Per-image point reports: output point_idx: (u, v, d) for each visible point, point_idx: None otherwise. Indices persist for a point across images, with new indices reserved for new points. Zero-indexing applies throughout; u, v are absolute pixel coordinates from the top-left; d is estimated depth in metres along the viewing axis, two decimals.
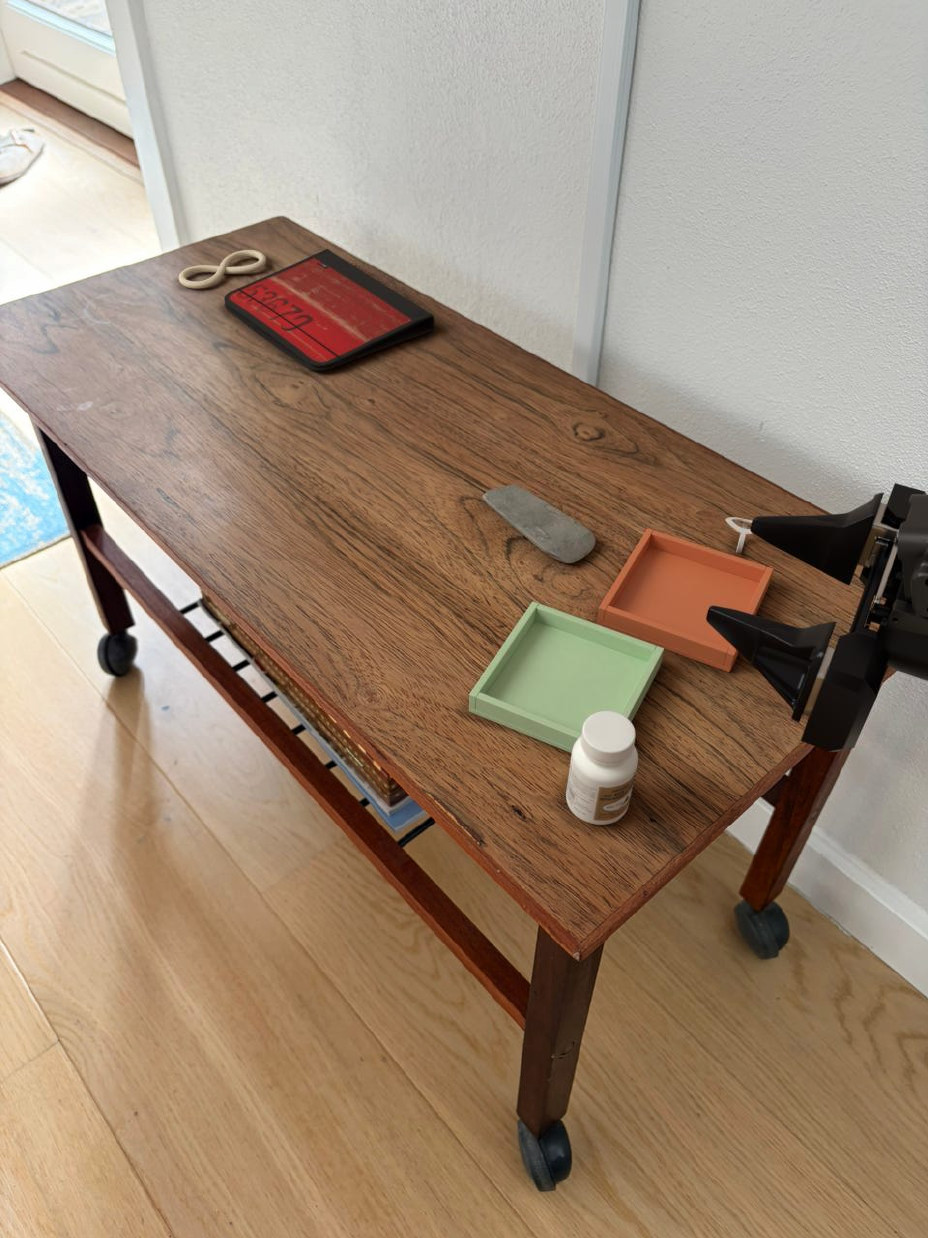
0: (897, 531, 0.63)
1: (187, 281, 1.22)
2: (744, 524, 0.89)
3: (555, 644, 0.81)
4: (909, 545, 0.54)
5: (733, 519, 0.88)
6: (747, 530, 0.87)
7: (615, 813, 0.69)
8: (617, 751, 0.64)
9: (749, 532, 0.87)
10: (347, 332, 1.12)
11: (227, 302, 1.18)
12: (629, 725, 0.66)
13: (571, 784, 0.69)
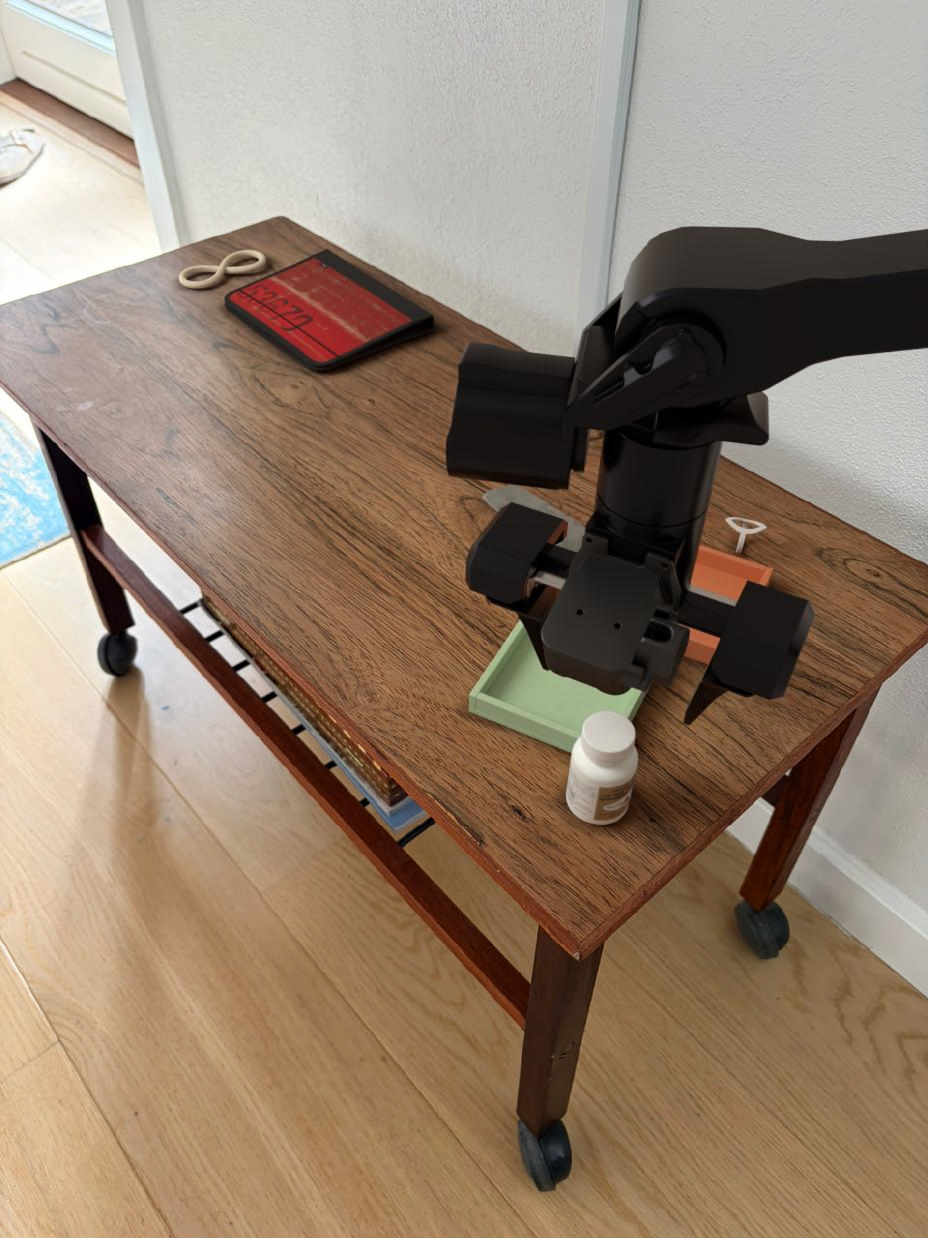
0: (530, 582, 0.57)
1: (187, 281, 1.22)
2: (744, 524, 0.89)
3: None
4: (628, 686, 0.51)
5: (733, 519, 0.88)
6: (747, 530, 0.87)
7: (615, 813, 0.69)
8: (617, 751, 0.64)
9: (749, 532, 0.87)
10: (347, 332, 1.12)
11: (227, 302, 1.18)
12: (629, 725, 0.66)
13: (571, 784, 0.69)
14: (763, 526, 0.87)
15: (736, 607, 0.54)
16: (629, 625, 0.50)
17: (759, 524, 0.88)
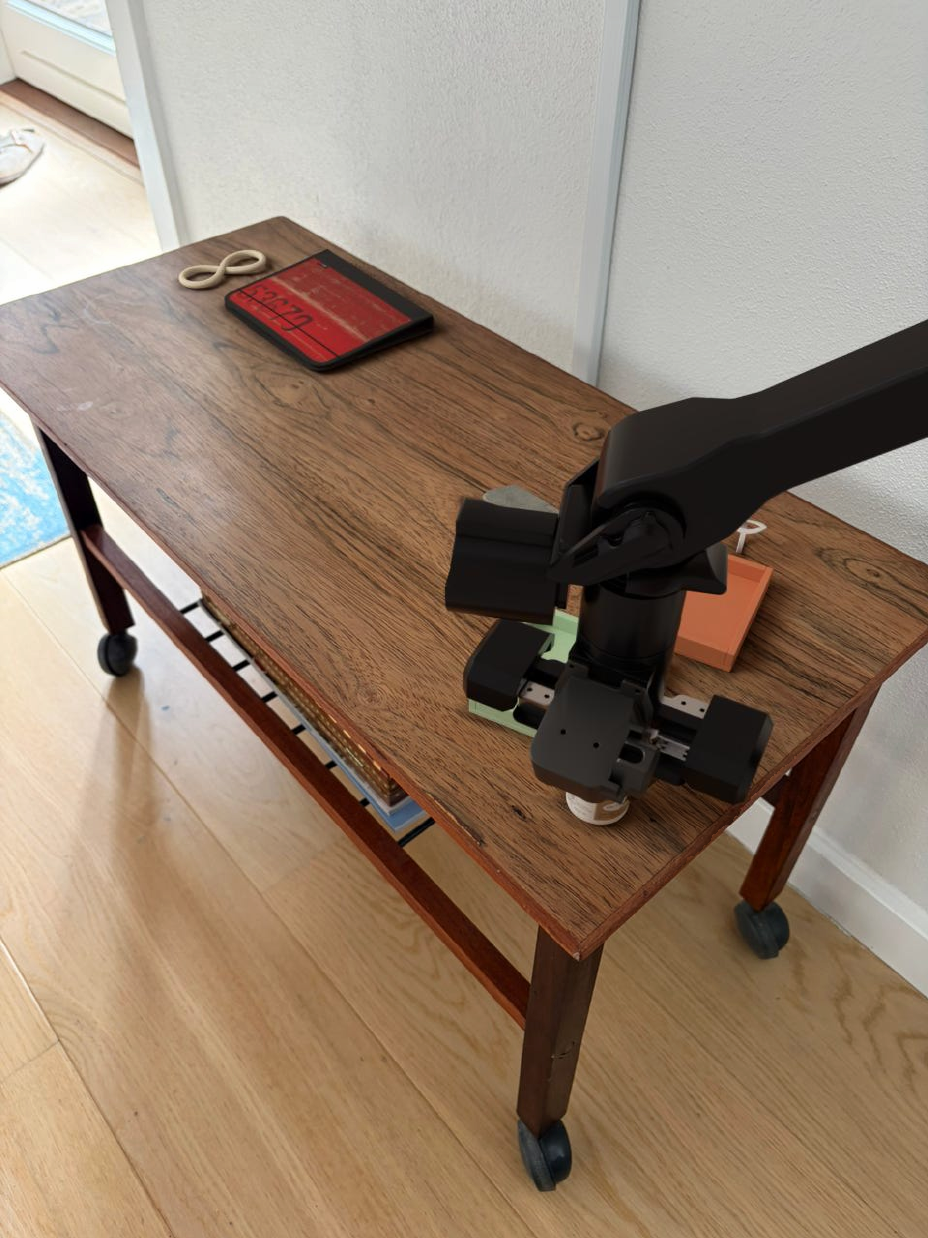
0: None
1: (187, 281, 1.22)
2: (744, 524, 0.89)
3: (555, 644, 0.81)
4: None
5: None
6: (747, 530, 0.87)
7: (615, 813, 0.69)
8: None
9: (749, 532, 0.87)
10: (347, 332, 1.12)
11: (227, 302, 1.18)
12: None
13: None
14: (763, 526, 0.87)
15: (703, 721, 0.61)
16: (606, 745, 0.57)
17: (759, 524, 0.88)
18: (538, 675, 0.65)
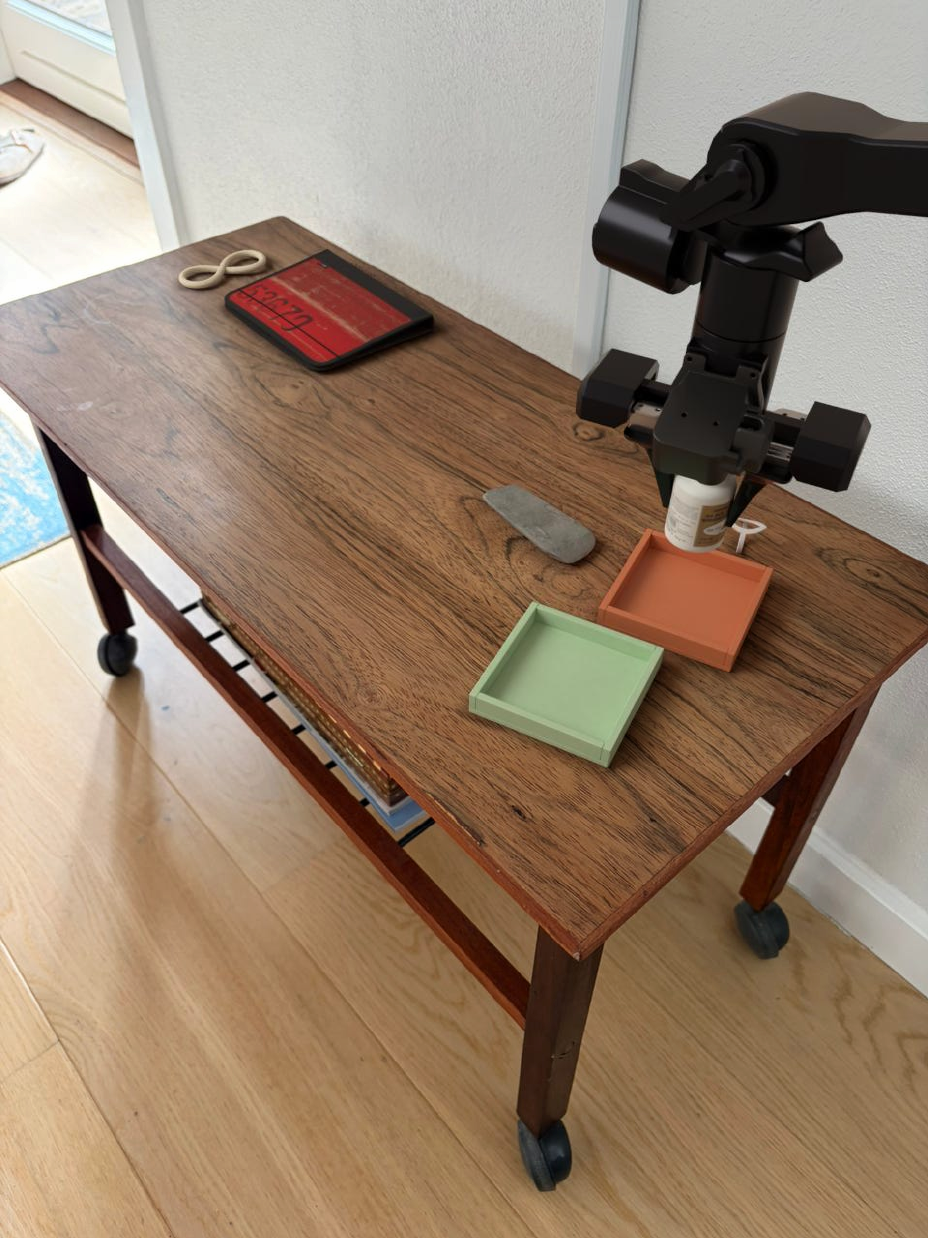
0: None
1: (187, 281, 1.22)
2: (744, 524, 0.89)
3: (555, 644, 0.81)
4: (723, 476, 0.63)
5: None
6: (747, 530, 0.87)
7: (713, 539, 0.74)
8: None
9: (749, 532, 0.87)
10: (347, 332, 1.12)
11: (227, 302, 1.18)
12: None
13: (673, 511, 0.73)
14: (763, 526, 0.87)
15: (807, 419, 0.65)
16: (725, 422, 0.62)
17: (759, 524, 0.88)
18: (647, 394, 0.69)
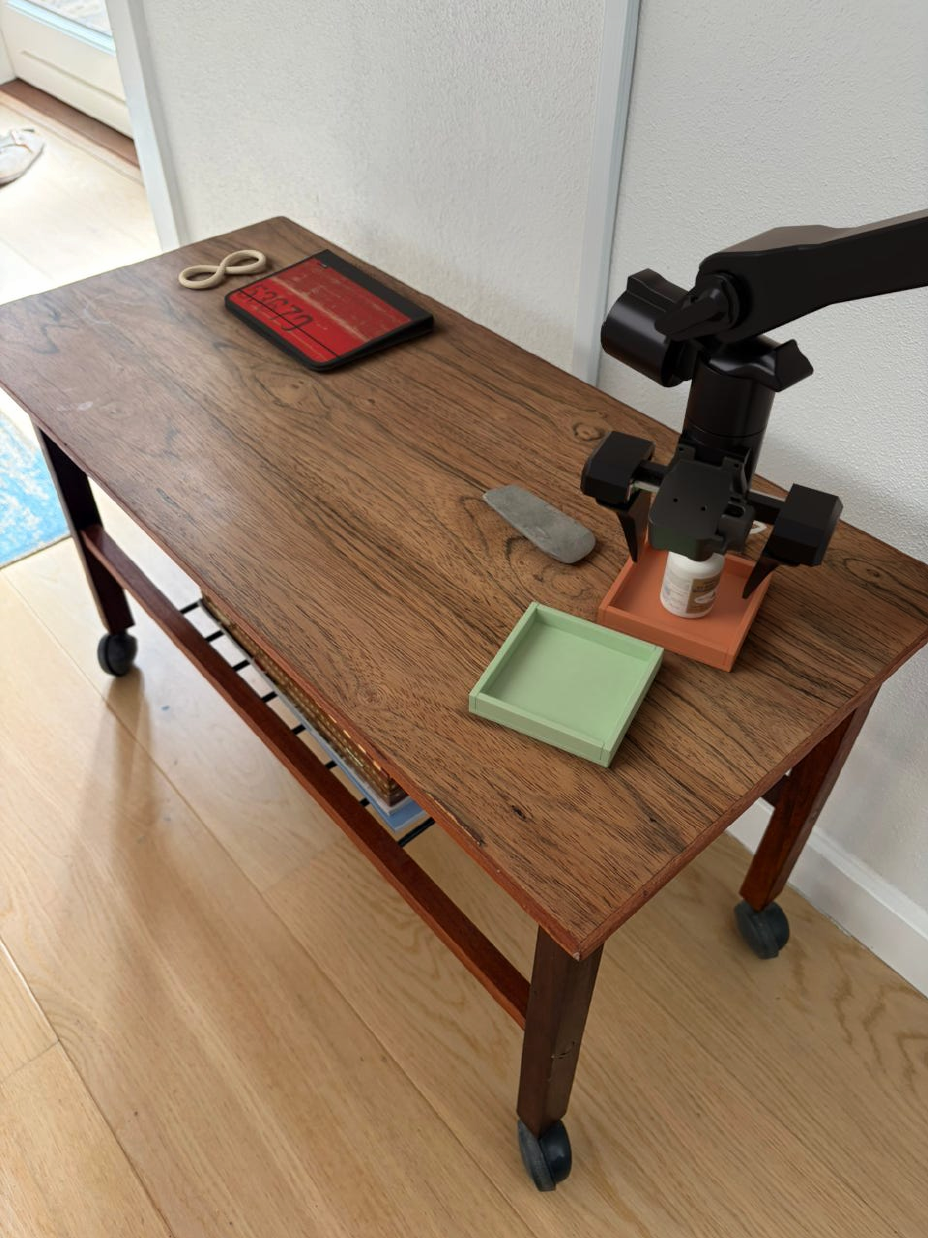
0: (630, 487, 0.77)
1: (187, 281, 1.22)
2: None
3: (555, 644, 0.81)
4: (709, 554, 0.71)
5: None
6: None
7: (704, 606, 0.82)
8: None
9: None
10: (347, 332, 1.12)
11: (227, 302, 1.18)
12: None
13: (667, 582, 0.82)
14: (763, 526, 0.87)
15: (786, 501, 0.74)
16: (712, 508, 0.70)
17: (759, 524, 0.88)
18: None
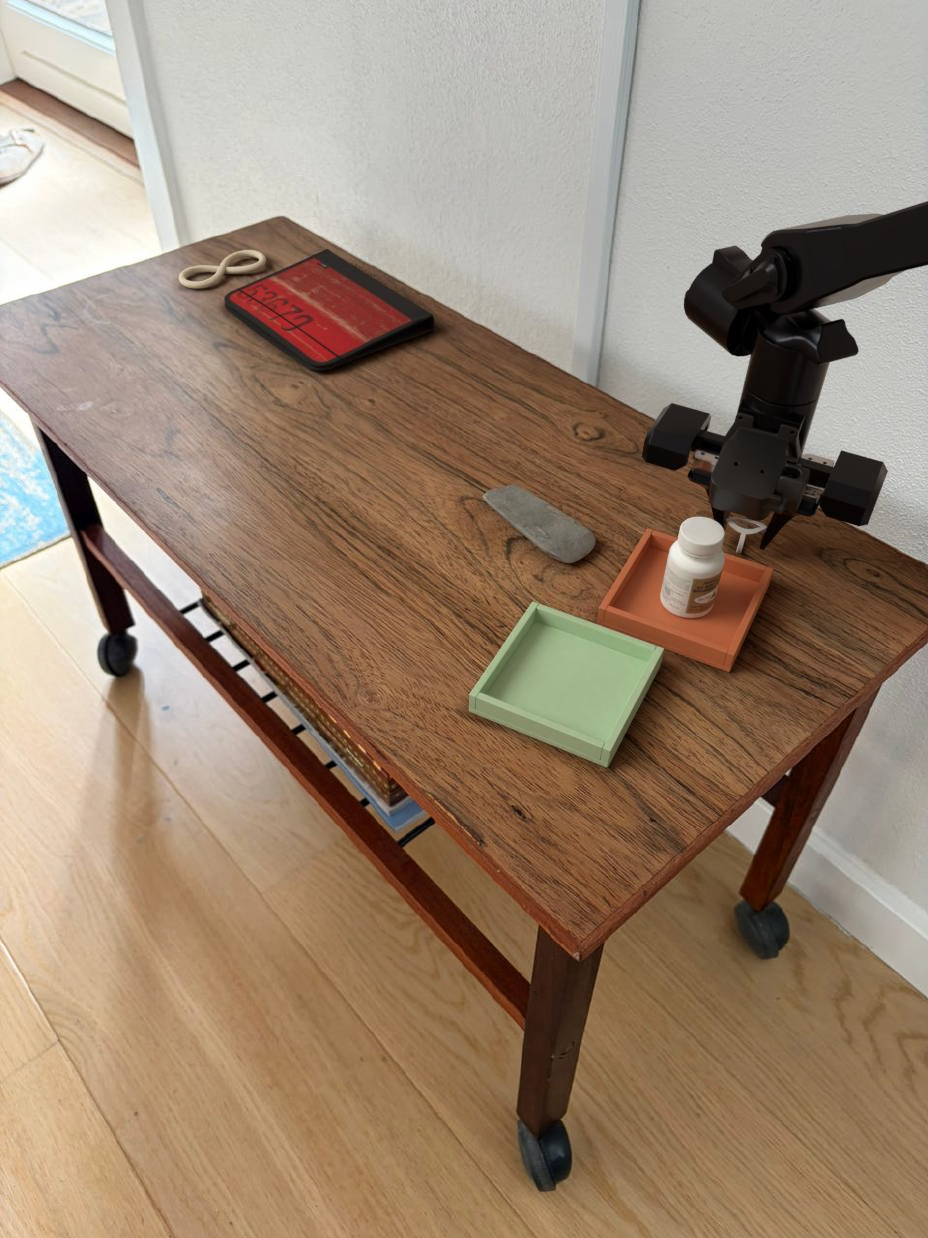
0: None
1: (187, 281, 1.22)
2: (744, 524, 0.89)
3: (555, 644, 0.81)
4: (767, 514, 0.77)
5: (733, 519, 0.88)
6: (747, 530, 0.87)
7: (704, 606, 0.82)
8: (711, 544, 0.78)
9: (749, 532, 0.87)
10: (347, 332, 1.12)
11: (227, 302, 1.18)
12: (719, 526, 0.79)
13: (667, 582, 0.82)
14: (763, 526, 0.87)
15: (835, 466, 0.80)
16: (770, 470, 0.76)
17: (759, 524, 0.88)
18: (708, 444, 0.84)
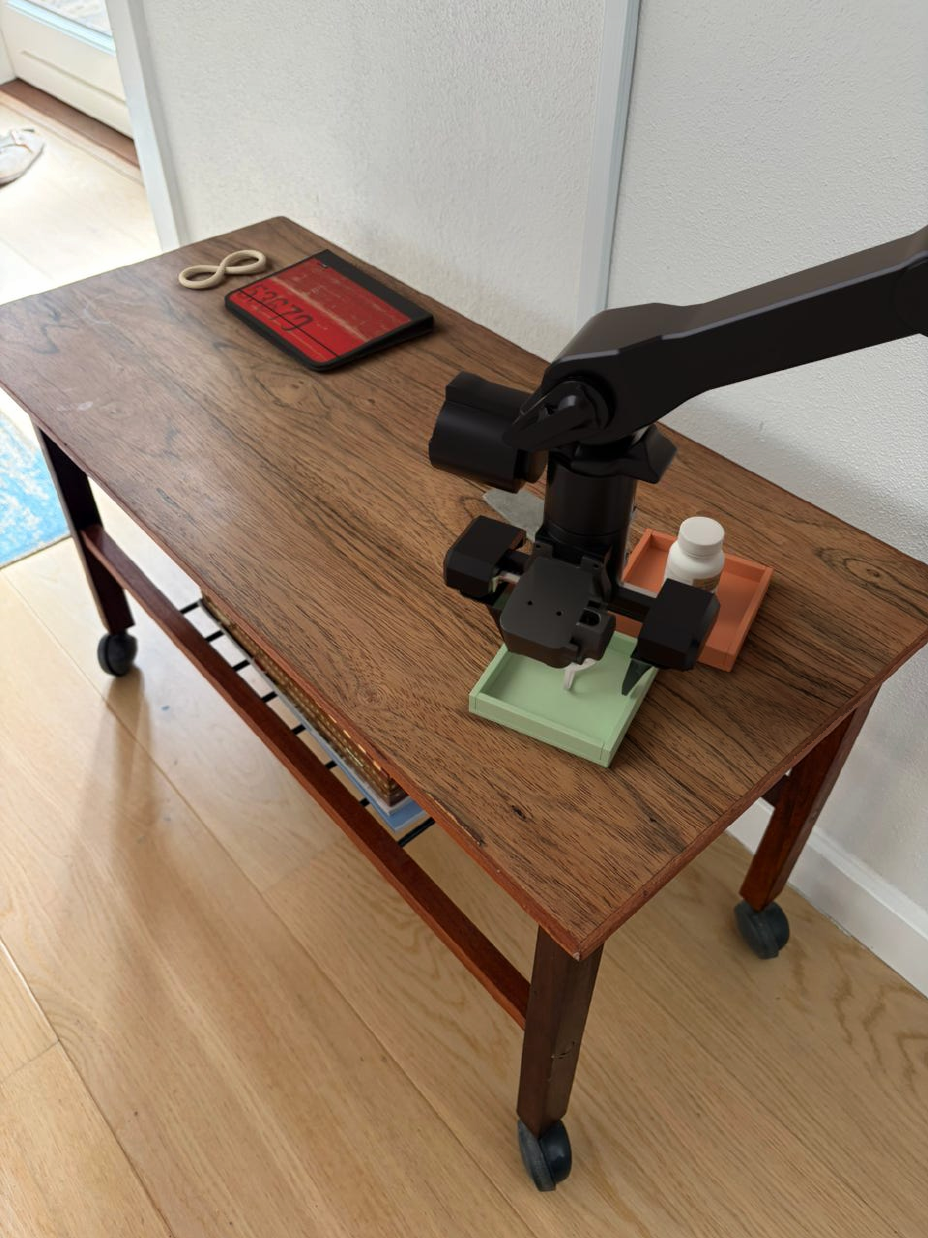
0: (494, 580, 0.71)
1: (187, 281, 1.22)
2: None
3: None
4: (568, 661, 0.65)
5: None
6: (572, 666, 0.75)
7: None
8: (711, 544, 0.78)
9: (575, 669, 0.75)
10: (347, 332, 1.12)
11: (227, 302, 1.18)
12: (719, 526, 0.79)
13: None
14: (591, 662, 0.75)
15: (656, 599, 0.68)
16: (568, 613, 0.64)
17: (587, 659, 0.76)
18: None
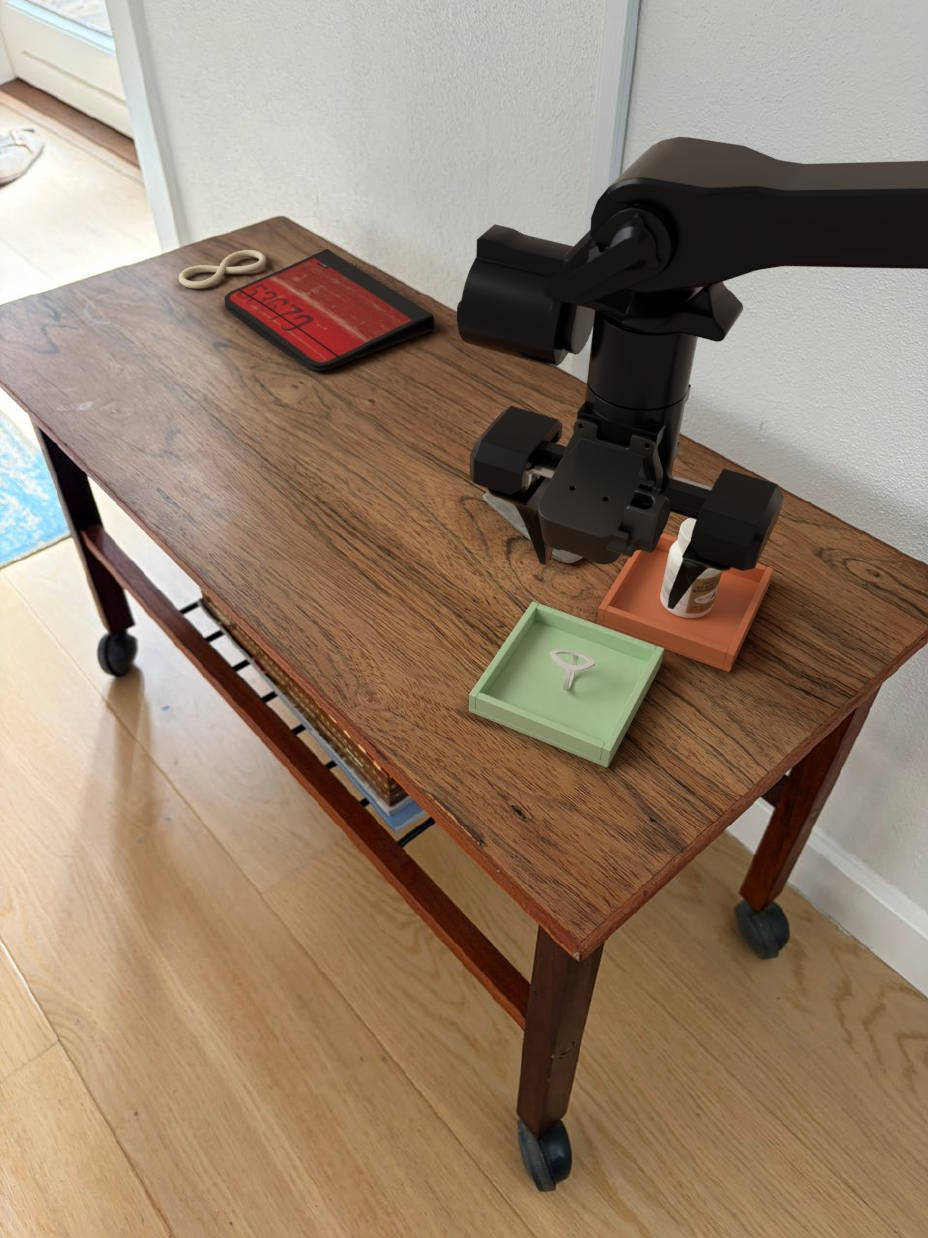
0: (528, 474, 0.64)
1: (187, 281, 1.22)
2: (574, 656, 0.77)
3: (555, 644, 0.81)
4: (615, 555, 0.57)
5: (558, 652, 0.76)
6: (572, 666, 0.75)
7: (704, 606, 0.82)
8: None
9: (575, 669, 0.75)
10: (347, 332, 1.12)
11: (227, 302, 1.18)
12: None
13: (667, 582, 0.82)
14: (591, 662, 0.75)
15: (712, 489, 0.60)
16: (616, 498, 0.56)
17: (587, 659, 0.76)
18: None
